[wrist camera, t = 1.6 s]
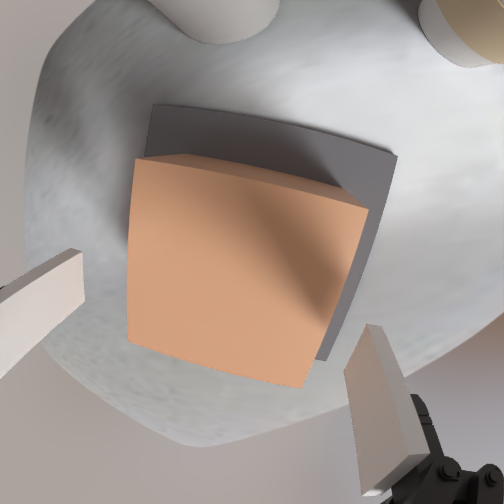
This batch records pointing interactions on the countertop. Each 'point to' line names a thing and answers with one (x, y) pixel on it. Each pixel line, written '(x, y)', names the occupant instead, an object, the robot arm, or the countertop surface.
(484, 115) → the countertop surface
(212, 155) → the mat
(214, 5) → the white soda can
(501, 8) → the coffee cup
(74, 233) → the countertop surface
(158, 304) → the orange block
